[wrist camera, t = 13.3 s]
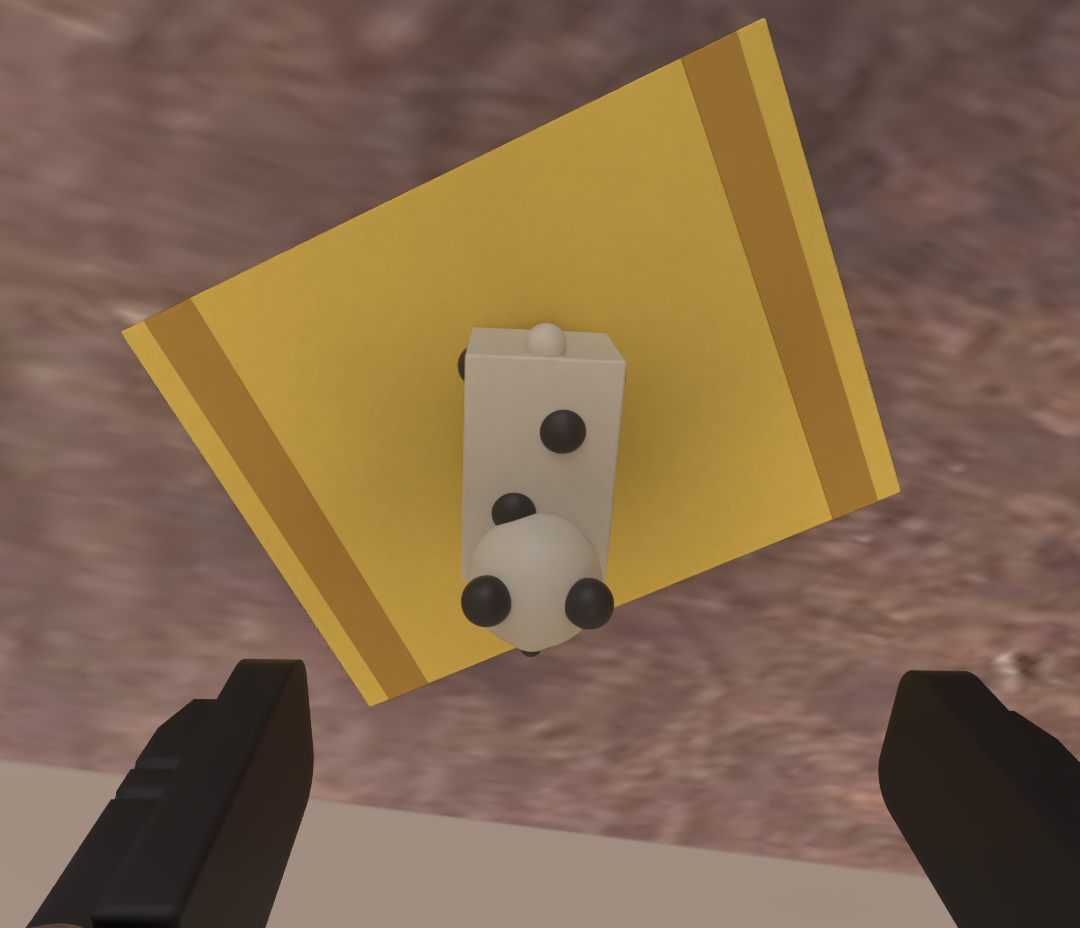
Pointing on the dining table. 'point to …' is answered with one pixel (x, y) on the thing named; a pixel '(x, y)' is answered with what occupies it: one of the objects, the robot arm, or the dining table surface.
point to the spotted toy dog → (538, 481)
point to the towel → (521, 303)
